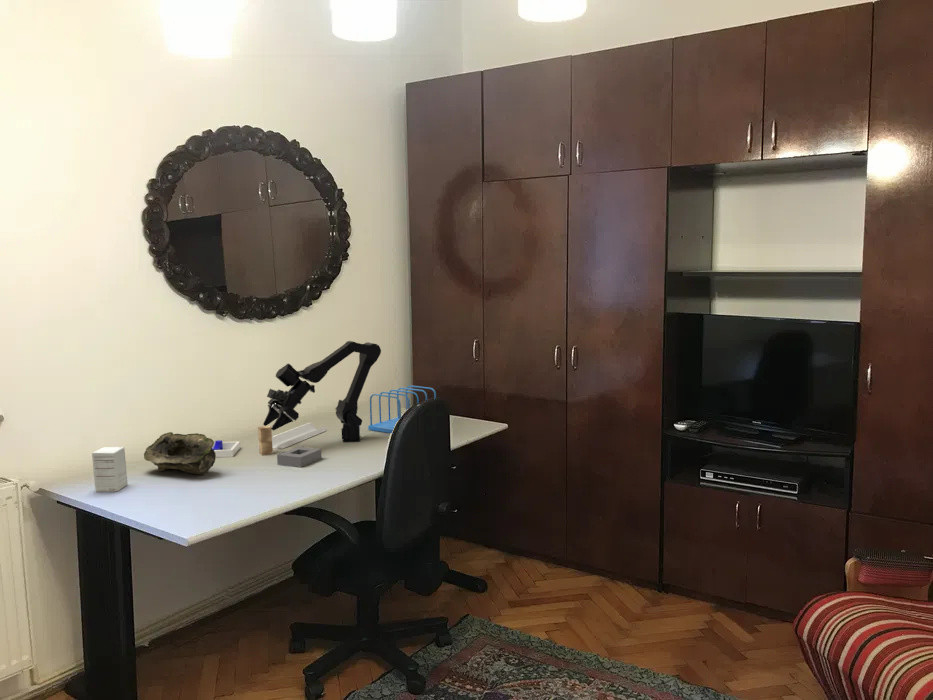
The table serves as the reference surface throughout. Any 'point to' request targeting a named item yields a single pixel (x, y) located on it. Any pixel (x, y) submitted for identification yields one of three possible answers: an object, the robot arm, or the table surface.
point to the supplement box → (109, 469)
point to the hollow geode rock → (182, 453)
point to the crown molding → (295, 435)
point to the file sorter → (389, 424)
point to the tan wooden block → (265, 440)
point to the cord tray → (227, 445)
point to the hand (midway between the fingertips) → (268, 427)
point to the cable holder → (218, 445)
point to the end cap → (299, 456)
